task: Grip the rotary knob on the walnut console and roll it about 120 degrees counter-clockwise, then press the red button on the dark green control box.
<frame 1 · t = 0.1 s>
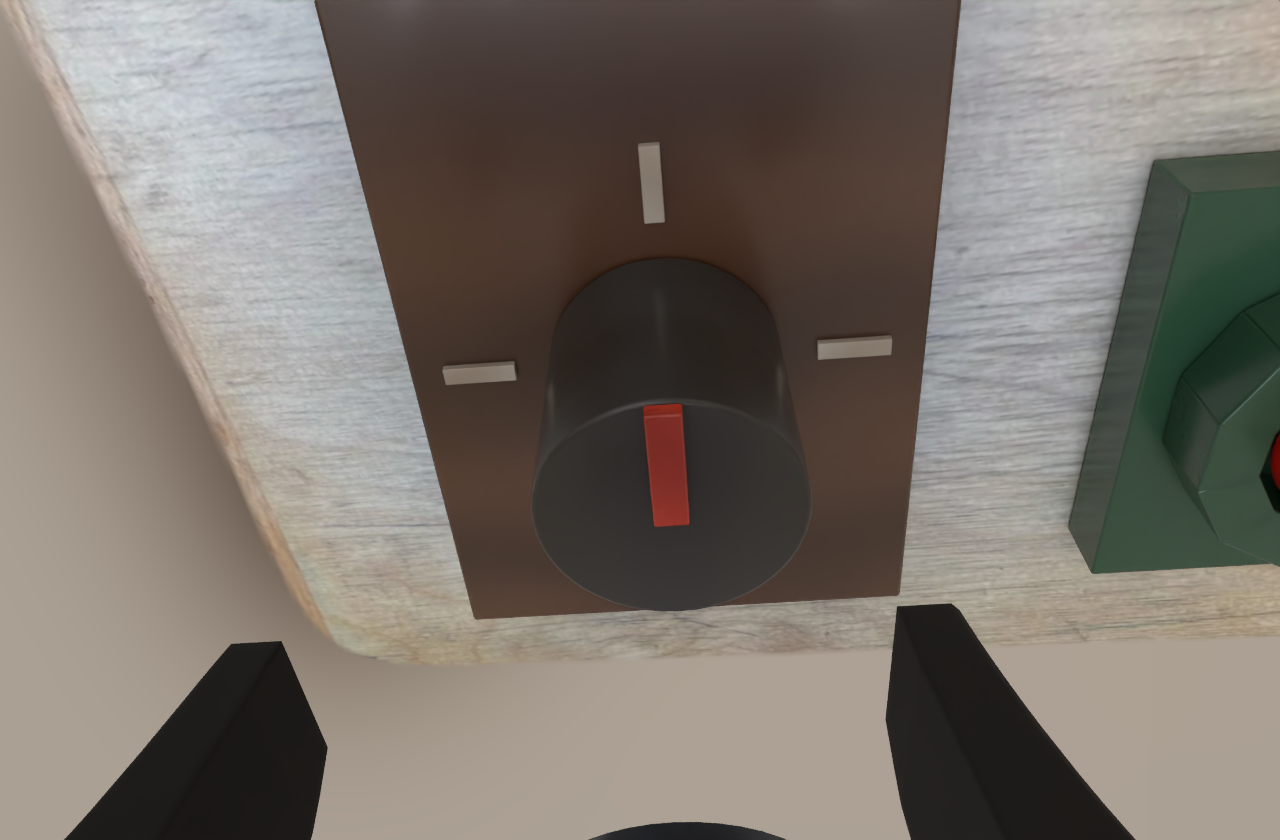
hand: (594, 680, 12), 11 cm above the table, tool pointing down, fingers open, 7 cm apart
console: (662, 283, 22), on the table
rotary knob: (668, 434, 17), point 5 cm above the table, hinge at 0.0°
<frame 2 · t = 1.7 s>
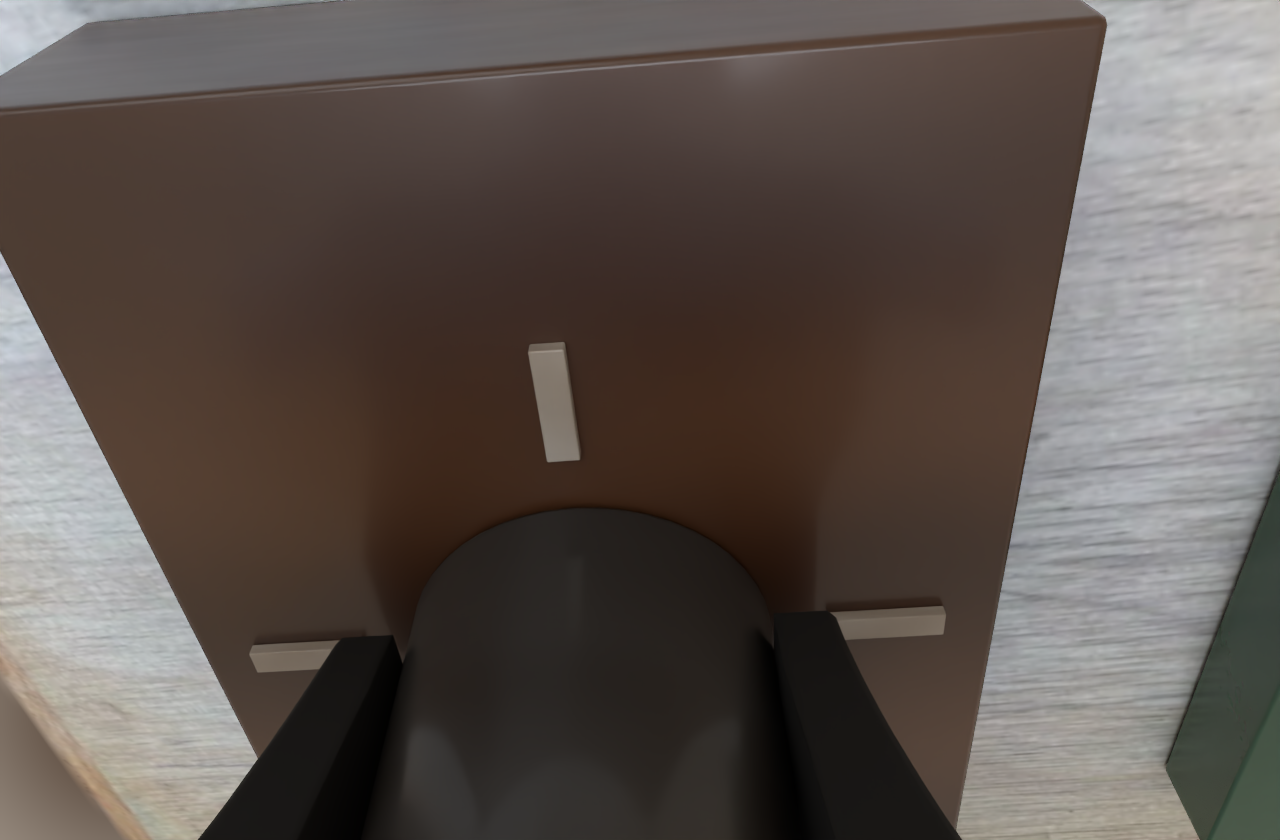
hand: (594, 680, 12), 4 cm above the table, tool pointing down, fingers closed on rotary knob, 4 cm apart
console: (601, 480, 15), on the table
rotary knob: (585, 813, 10), point 5 cm above the table, hinge at 0.0°, touching gripper
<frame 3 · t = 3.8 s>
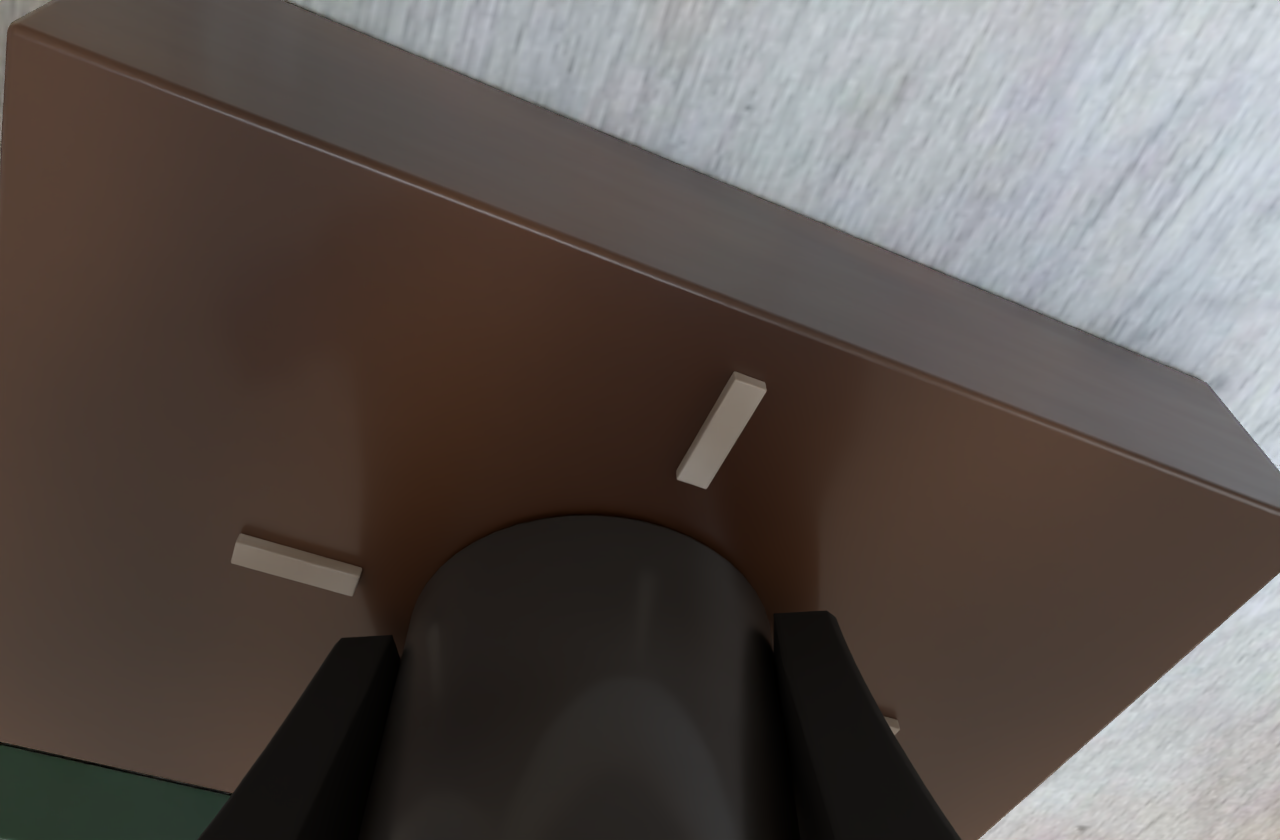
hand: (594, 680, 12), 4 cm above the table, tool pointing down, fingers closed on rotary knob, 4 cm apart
console: (598, 485, 15), on the table
rotary knob: (583, 825, 10), point 5 cm above the table, hinge at 118.5°, touching gripper
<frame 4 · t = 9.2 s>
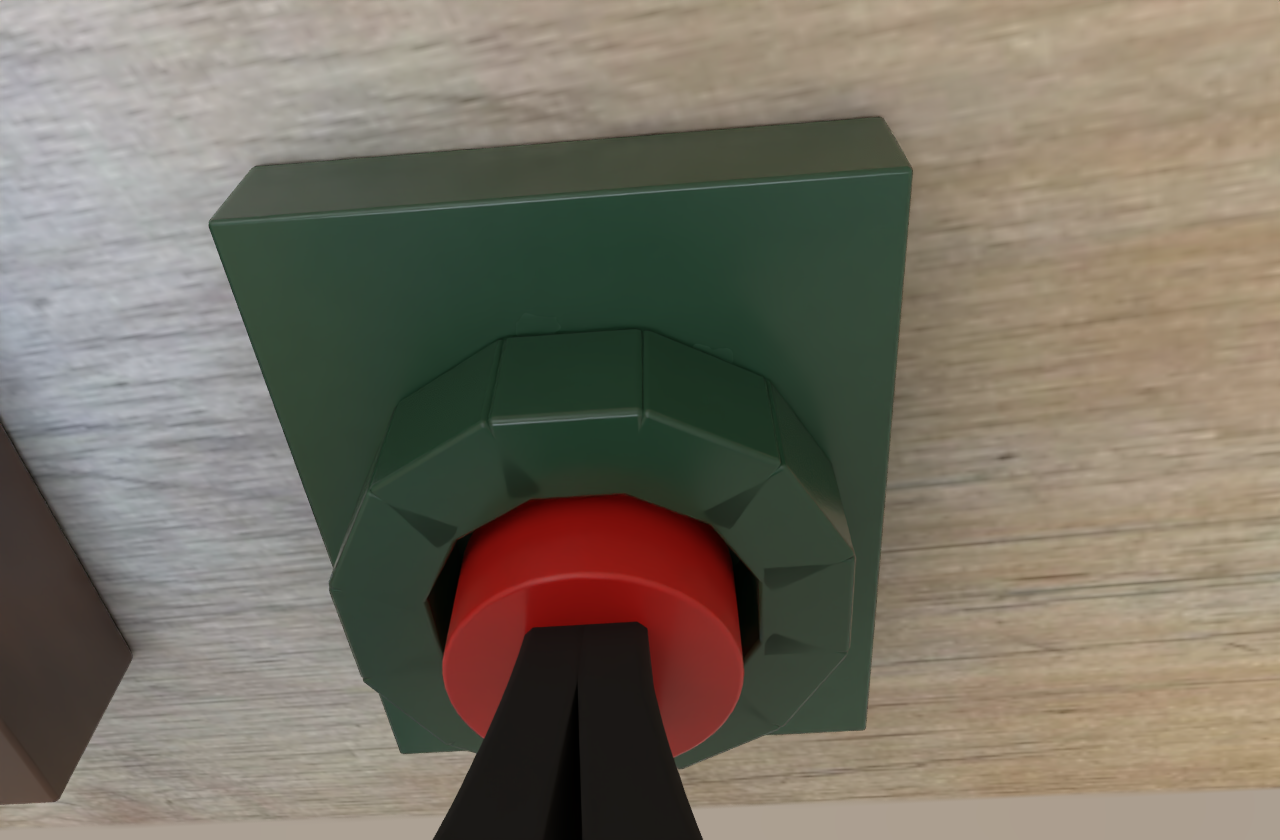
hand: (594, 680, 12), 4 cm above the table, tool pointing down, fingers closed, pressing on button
button box: (603, 452, 15), on the table
button: (595, 627, 13), point 4 cm above the table, slide at -0.3 cm, touching gripper
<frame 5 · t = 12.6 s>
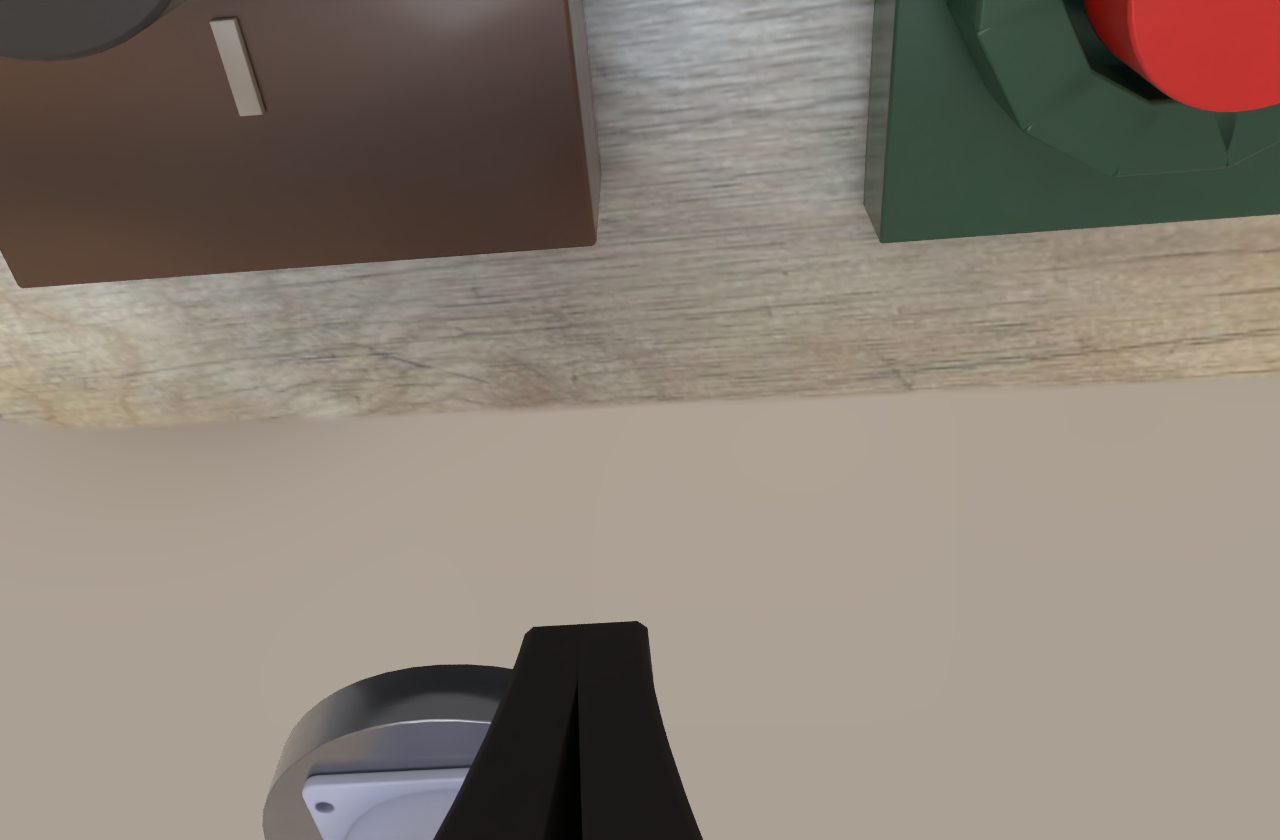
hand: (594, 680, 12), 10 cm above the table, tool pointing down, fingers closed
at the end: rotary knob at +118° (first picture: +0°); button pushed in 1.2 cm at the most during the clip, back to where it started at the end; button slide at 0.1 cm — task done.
